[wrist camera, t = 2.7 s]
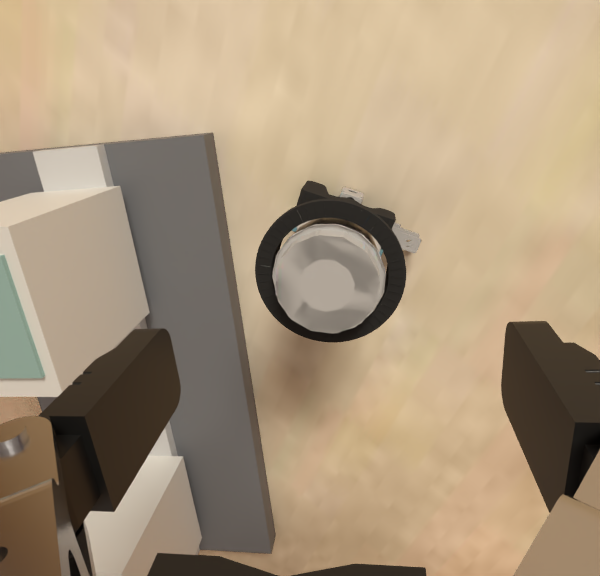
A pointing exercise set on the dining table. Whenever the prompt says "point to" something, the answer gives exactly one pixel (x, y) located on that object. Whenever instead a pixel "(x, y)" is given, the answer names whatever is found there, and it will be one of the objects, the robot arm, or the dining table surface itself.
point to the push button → (333, 265)
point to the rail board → (138, 315)
